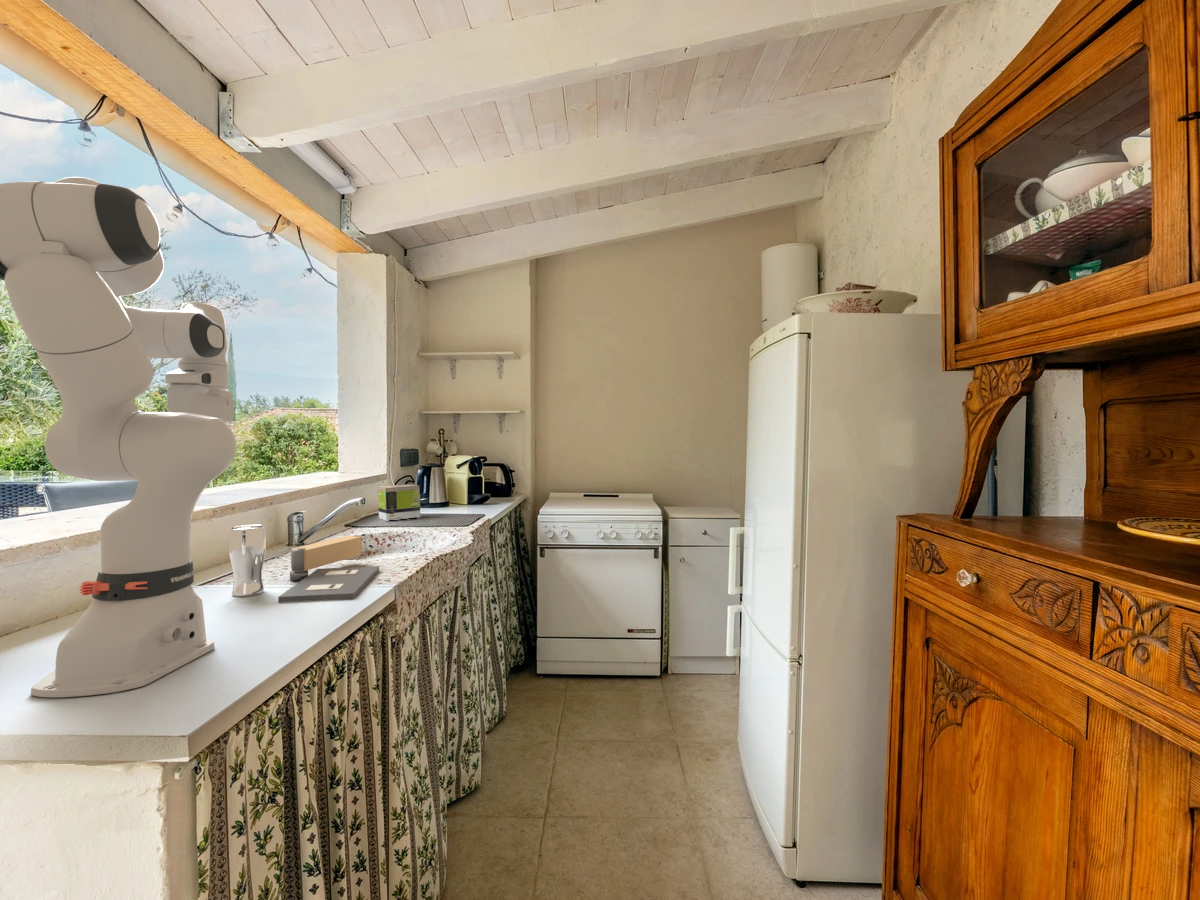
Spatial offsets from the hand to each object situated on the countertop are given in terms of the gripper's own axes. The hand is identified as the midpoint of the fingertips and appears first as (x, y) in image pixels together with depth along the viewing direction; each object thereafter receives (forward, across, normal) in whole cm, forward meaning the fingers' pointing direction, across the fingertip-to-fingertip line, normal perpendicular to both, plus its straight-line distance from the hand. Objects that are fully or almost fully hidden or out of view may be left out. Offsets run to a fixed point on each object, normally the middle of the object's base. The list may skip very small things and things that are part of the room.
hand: (204, 442), depth 121 cm
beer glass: (+34, -1, +8) cm, 35 cm away
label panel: (+34, -5, +25) cm, 43 cm away
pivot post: (+34, -12, +15) cm, 39 cm away
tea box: (+34, -117, +21) cm, 124 cm away
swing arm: (+32, -20, +19) cm, 42 cm away
